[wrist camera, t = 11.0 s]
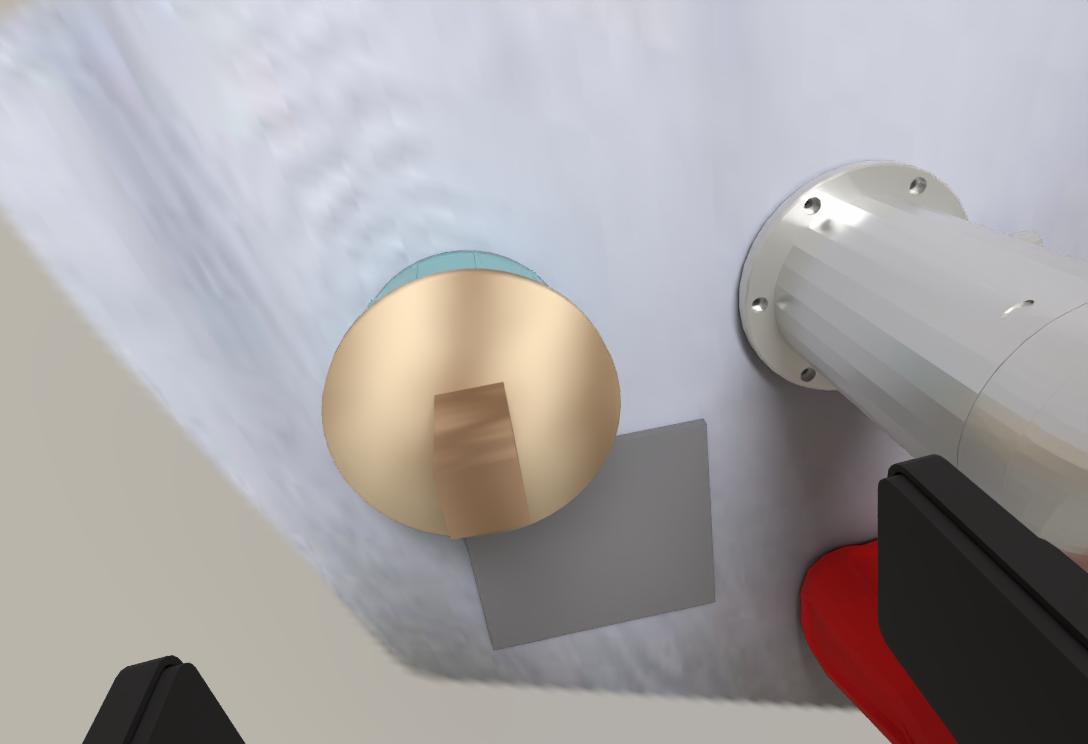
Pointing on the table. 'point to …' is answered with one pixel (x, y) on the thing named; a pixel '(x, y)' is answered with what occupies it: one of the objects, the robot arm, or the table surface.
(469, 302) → the lid
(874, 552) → the water bottle
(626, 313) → the table surface
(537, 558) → the mat
